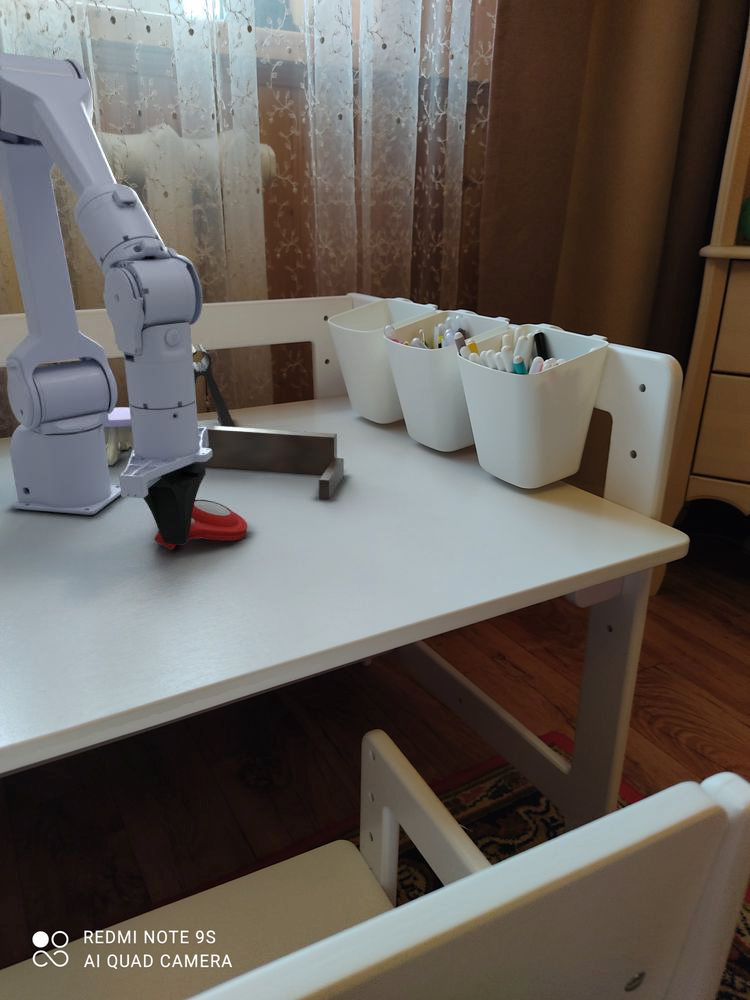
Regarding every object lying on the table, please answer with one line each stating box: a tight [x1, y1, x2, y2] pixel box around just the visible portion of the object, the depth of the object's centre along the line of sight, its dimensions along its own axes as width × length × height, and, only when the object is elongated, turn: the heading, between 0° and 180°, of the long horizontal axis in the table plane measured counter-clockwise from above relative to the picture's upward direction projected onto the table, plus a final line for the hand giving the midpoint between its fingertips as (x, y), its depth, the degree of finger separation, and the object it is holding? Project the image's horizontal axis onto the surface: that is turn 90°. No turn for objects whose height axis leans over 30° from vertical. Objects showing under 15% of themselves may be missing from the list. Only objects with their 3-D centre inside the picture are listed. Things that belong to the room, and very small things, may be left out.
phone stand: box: [192, 343, 236, 427], centre depth 112 cm, size 9×6×12 cm, turn 108°
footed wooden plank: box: [192, 425, 345, 501], centre depth 94 cm, size 23×10×5 cm, turn 80°
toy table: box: [103, 406, 134, 466], centre depth 101 cm, size 10×9×6 cm
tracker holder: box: [153, 499, 248, 551], centre depth 79 cm, size 12×4×10 cm
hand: (175, 542), depth 73 cm, fingers closed
